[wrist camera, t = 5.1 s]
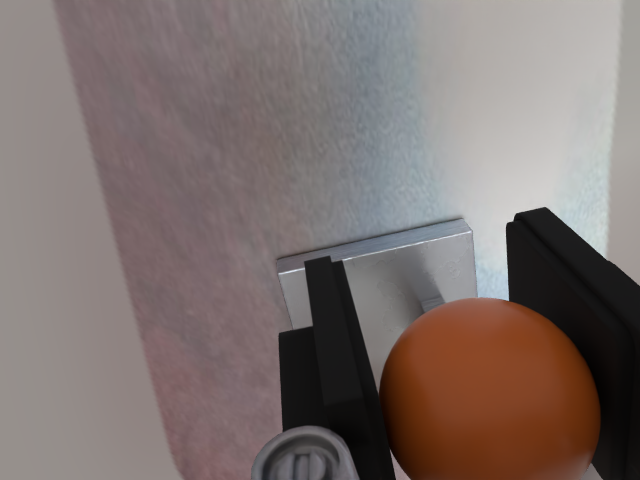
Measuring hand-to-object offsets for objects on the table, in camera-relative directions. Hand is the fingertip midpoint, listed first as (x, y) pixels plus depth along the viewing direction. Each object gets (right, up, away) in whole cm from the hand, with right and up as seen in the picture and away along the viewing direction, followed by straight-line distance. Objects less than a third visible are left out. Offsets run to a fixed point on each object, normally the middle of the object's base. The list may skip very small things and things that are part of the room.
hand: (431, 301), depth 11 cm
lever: (+1, -3, +2) cm, 4 cm away
